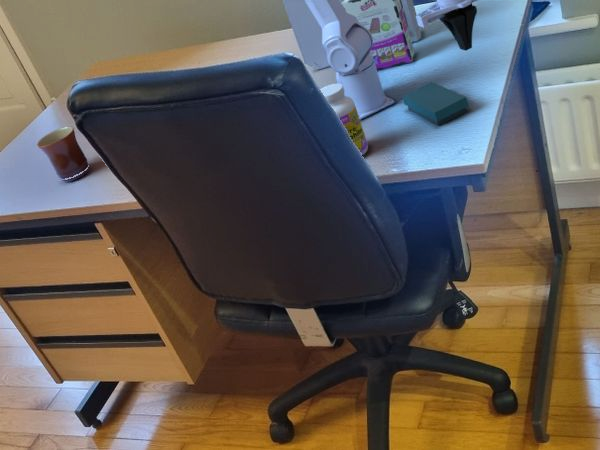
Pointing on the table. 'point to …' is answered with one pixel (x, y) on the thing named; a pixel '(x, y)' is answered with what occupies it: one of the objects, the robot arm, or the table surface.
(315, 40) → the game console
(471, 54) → the table surface
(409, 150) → the table surface
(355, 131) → the supplement bottle
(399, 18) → the candy bar box
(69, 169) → the mug
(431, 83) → the teal flat panel
